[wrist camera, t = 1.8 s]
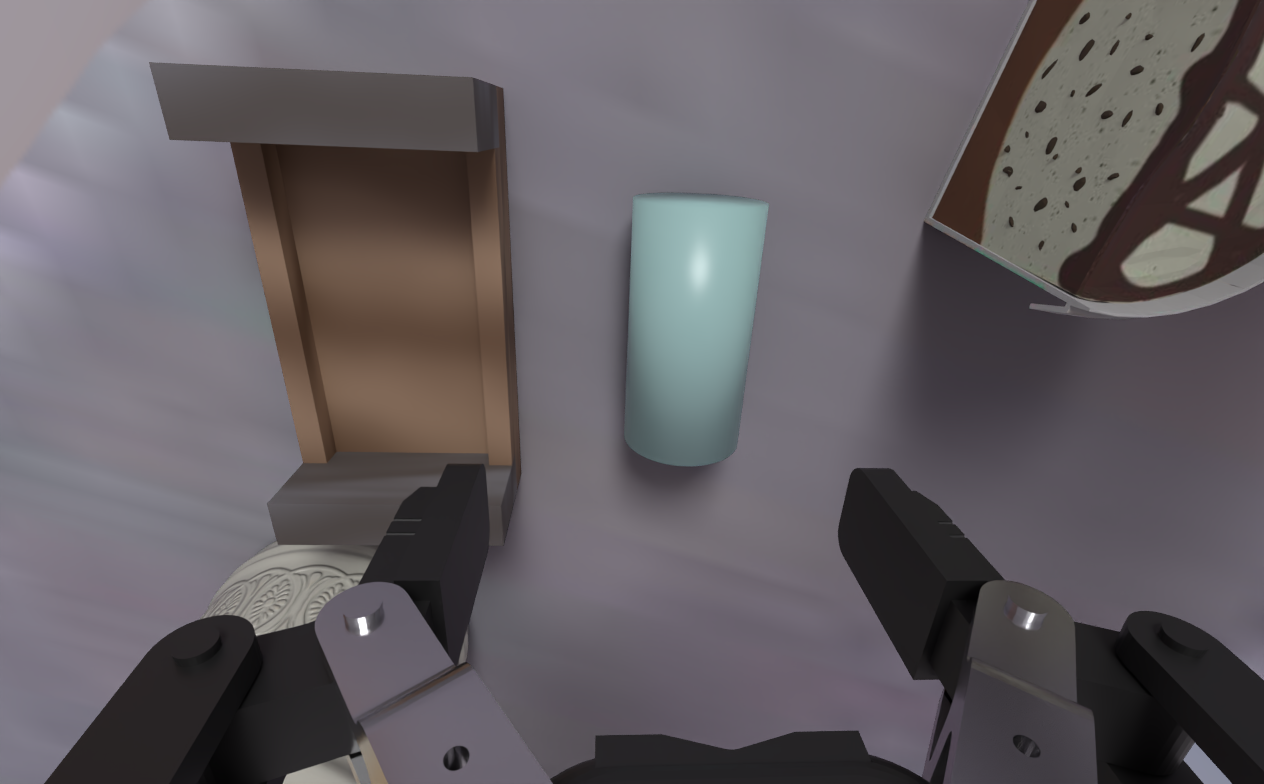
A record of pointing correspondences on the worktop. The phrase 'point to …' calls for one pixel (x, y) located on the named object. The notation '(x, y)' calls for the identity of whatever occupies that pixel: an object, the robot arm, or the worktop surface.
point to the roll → (690, 323)
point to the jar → (296, 607)
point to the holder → (373, 279)
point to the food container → (1120, 156)
